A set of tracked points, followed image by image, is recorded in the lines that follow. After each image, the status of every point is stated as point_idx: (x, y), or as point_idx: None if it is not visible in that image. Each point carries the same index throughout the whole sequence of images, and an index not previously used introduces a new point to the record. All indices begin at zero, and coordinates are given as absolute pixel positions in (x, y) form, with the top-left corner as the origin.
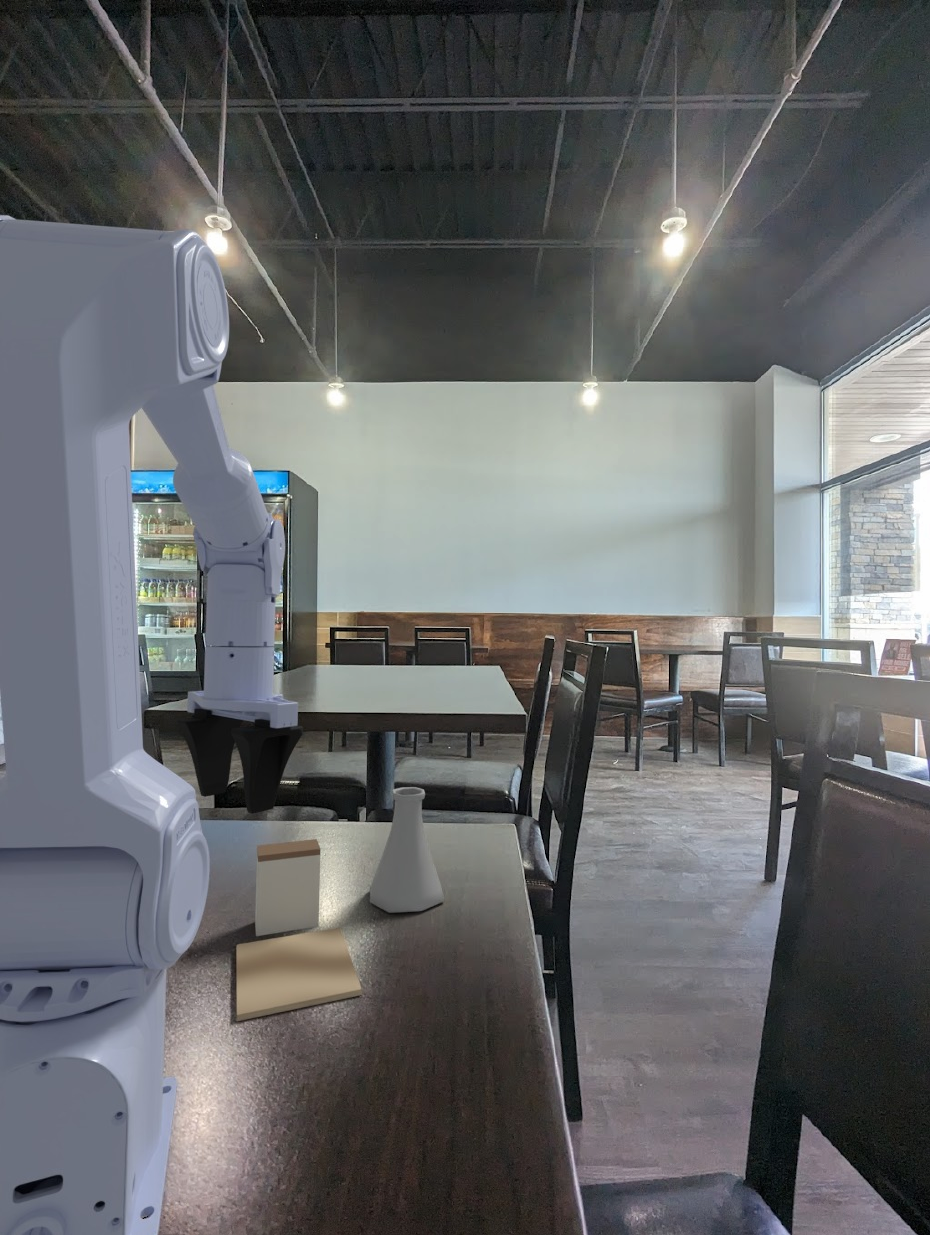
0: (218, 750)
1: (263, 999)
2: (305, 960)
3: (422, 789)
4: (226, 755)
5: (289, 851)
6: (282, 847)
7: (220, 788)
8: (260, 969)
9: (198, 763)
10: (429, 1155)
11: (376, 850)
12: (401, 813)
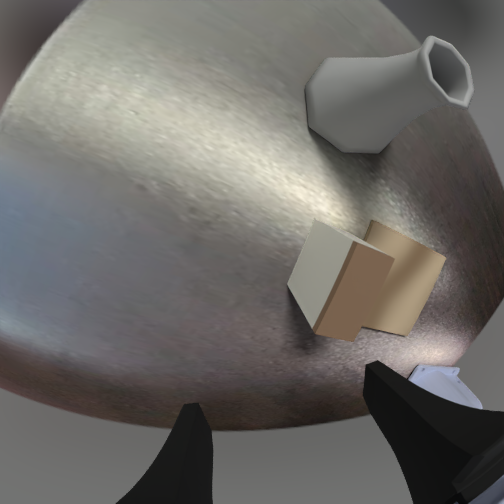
0: (196, 492)
1: (409, 319)
2: (396, 276)
3: (452, 46)
4: (188, 469)
5: (370, 301)
6: (351, 305)
7: (201, 418)
8: (379, 311)
9: (211, 490)
10: (499, 284)
11: (176, 40)
12: (439, 106)
